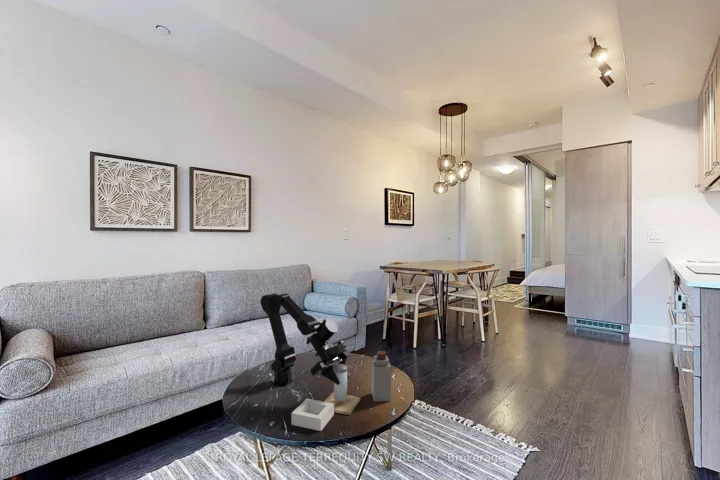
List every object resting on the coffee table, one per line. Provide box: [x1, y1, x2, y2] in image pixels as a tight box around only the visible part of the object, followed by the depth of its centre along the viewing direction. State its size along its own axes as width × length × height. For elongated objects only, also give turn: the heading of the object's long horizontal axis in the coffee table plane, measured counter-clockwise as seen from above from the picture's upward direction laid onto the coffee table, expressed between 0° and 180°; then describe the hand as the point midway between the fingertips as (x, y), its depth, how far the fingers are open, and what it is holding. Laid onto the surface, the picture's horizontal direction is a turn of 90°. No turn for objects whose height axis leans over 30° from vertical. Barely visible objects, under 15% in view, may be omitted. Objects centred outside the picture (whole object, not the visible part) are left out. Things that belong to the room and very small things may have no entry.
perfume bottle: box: [371, 350, 392, 403], centre depth 137 cm, size 7×7×18 cm
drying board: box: [323, 391, 361, 416], centre depth 131 cm, size 12×12×1 cm
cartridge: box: [333, 363, 349, 401], centre depth 131 cm, size 5×5×12 cm
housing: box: [291, 398, 335, 432], centre depth 120 cm, size 11×11×4 cm
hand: (343, 381), depth 130 cm, fingers closed on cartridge, 5 cm apart
